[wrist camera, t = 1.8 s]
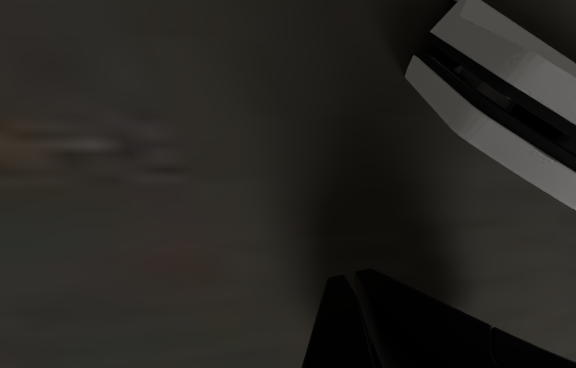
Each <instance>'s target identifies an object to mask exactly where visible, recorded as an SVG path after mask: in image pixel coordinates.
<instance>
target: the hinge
mask: <svg viewBox="0 0 576 368" xmlns="http://www.w3.org/2000/svg"><path fill="white" fill-rule="evenodd" d="M454 1H455V2H457V3H456V4H455V5H454V6H453V7H452V8H451V10H450V11H449V12H448V13H447V14H446V15H445V16H444V17H443V18H442V19H441V20H440V21H439V22H438V23H437V24H436V25H435V26H434V28H433V29H432V30H431V31H430V32H431V33H433V34H434V35H436V36H435V37H434V39H433V40H432V42H431V44H432V45H433V46H435V47H436V48H438V49H439V50H440V51H442V52H443V53H445V54H446V55H447V56H449V57H450V58H452V59H453V60H454V61H456V62H457V63H458V64H460V66H459V67H457V68H454V69H452V68H451V67H449V66H448V65H446V64H444V63H443V62H441V61H440V60H438V59H436V58H435V57H433V56H431V55H430V54H428V53H426V52H424V53H423V54H422V56H421V57H420V58H418V57H417V56H415V55H413V57H412V59H411V61H410V64H409V66H408V68H407V71H406V74H405V78H406V79H407V81H408V82H409V83H410V84H411V85H412V86H413V87H414V88H415V89H416V90H417V92H418V93H419V94H420V95H421V96H422V97H423V98H424V99H425V100H426V101H427V103H428V104H429V105H430V106H431V107H432V108H433V109H434V110H435V111H436V113H437V114H438V115H439V116H440V117H441V118H442V119H443V120H444V121H445V122H446V124H447V125H448V126H449V127H450V128H451V129H452V130H453V131H454V132H455V133H457V134H458V135H459V136H460V137H461V138H463V139H464V140H466V141H467V142H469V143H470V144H472V145H473V146H475V147H476V148H478V149H479V150H481V151H482V152H484V153H485V154H487V155H488V156H490V157H491V158H493V159H494V160H496V161H497V162H499V163H500V164H502V165H503V166H505V167H507V168H508V169H510V170H511V171H513V172H514V173H516V174H517V175H519V176H521V177H522V178H524V179H525V180H527V181H529V182H530V183H532V184H533V185H535V186H537V187H538V188H540V189H542V190H543V191H545V192H546V193H548V194H550V195H551V196H553V197H555V198H556V199H558V200H559V201H561V202H563V203H564V204H566V205H568V206H569V207H571V208H572V209H574V210H576V63H574V62H573V61H571V60H570V59H568V58H567V57H565V56H564V55H562V54H561V53H559V52H558V51H556V50H555V49H553V48H552V47H550V46H549V45H547V44H546V43H544V42H543V41H541V40H540V39H538V38H537V37H535V36H534V35H532V34H531V33H529V32H528V31H526V30H525V29H523V28H522V27H520V26H519V25H517V24H516V23H514V22H513V21H511V20H510V19H508V18H507V17H505V16H504V15H502V14H501V13H499V12H498V11H496V10H495V9H493V8H492V7H490V6H489V5H487V4H486V3H484V2H483V1H481V0H454ZM516 104H518V105H520V106H521V107H523V108H524V109H526V110H528V111H529V112H531V113H532V114H534V115H536V116H537V117H539V118H540V119H542V120H543V121H545V122H547V123H548V124H550V125H551V126H553V127H555V128H556V129H558V130H559V131H561V132H563V133H564V134H563V135H562V136H561V137H558V138H556V139H549V138H548V137H546V136H544V135H543V134H541V133H539V132H538V131H536V130H534V129H533V128H531V127H529V126H528V125H526V124H524V123H523V122H521V121H520V120H518V119H517V118H515V117H514V116H513V115H511V111H512V109H513V107H514V105H516Z"/></svg>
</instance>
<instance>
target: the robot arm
mask: <svg viewBox="0 0 576 368" xmlns="http://www.w3.org/2000/svg"><path fill="white" fill-rule="evenodd" d="M355 282H356V288H357V294H358V299H357V297H356V295H355V293H354V291H353V290H352V288H351V286H350V285H349V283H348V281H347V280H346V278H345V276H344V275H339V276H334V277H330V278H328V279H327V282H326V285H325V289H324V292H323V295H322V299H321V302H320V306H319V309H318V313H317V316H316V320H315V323H314V327H313V330H312V334H311V337H310V340H309V344H308V347H307V351H306V354H305V358H304V361H303V365H302V368H576V362H574V361H571V360H569V359H566V358H564V357H562V356H559V355H557V354H554V353H552V352H549V351H547V350H544V349H542V348H540V347H538V346H535V345H533V344H531V343H529V342H526V341H524V340H522V339H520V338H518V337H515V336H513V335H511V334H509V333H507V332H505V331H502V330H500V329H498V328H496V327H493V329H492V326H491V325H489V324H487V323H485V322H483V321H481V320H479V319H477V318H475V317H473V316H470V315H468V314H466V313H464V312H462V311H460V310H458V309H456V308H454V307H451V306H449V305H447V304H445V303H443V302H441V301H439V300H437V299H435V298H432V297H430V296H428V295H426V294H424V293H422V292H420V291H418V290H416V289H413V288H411V287H409V286H407V285H405V284H403V283H401V282H399V281H396V280H394V279H392V278H390V277H388V276H386V275H384V274H382V273H380V272H377V271H375V270H373V269H365V270H361V271H357V272H356V273H355ZM358 300H359V301H358ZM363 317H364V318H363ZM364 320H365V322H366V325H367V328H368V330H369V333H370V336H371V339H372V341H373V344H374V345H370V341H369V337H368V333H367V329H366V326H365V322H364Z"/></svg>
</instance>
